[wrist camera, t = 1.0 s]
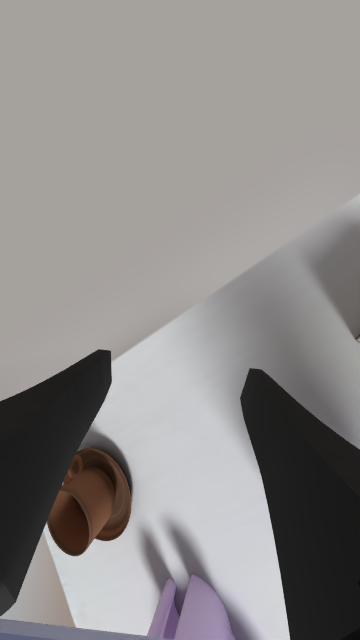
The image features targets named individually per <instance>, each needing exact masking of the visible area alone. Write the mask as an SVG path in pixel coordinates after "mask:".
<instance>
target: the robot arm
mask: <svg viewBox="0 0 360 640" xmlns="http://www.w3.org/2000/svg"><path fill="white" fill-rule="evenodd" d="M111 383H112V376H111V351H108V350H100V349H99V350H97V351H95V352H93V353H92V354H90V355H88V356H87V357H85V358H84V359H82V360H80V361H79V362H77V363H75V364H74V365H72V366H70V367H69V368H67V369H65V370H64V371H62V372H60V373H58V374H56V375H54V376H53V377H51V378H49V379H47V380H45V381H43V382H41V383H39V384H37V385H36V386H33V387H31V388H29V389H27V390H25V391H23V392H21V393H19V394H16V395H15V396H12V397H10V398H7V399H5V400H2V401H0V616H1V615H3V614H4V613H5V612H6V611H7V610H9V609H10V608H11V607H12V605H13V604H14V603H15V602H16V600H17V597H18V595H19V592H20V589H21V587H22V584H23V581H24V578H25V576H26V573H27V571H28V568H29V565H30V563H31V560H32V558H33V555H34V552H35V550H36V547H37V544H38V542H39V539H40V537H41V534H42V532H43V529H44V527H45V524H46V522H47V519H48V517H49V514H50V512H51V509H52V507H53V505H54V502H55V500H56V498H57V495H58V493H59V490H60V488H61V486H62V483H63V481H64V479H65V476H66V474H67V472H68V470H69V467H70V465H71V463H72V461H73V458H74V456H75V454H76V452H77V450H78V448H79V446H80V444H81V442H82V440H83V439H84V437H85V435H86V433H87V431H88V430H89V428H90V426H91V424H92V422H93V421H94V419H95V417H96V415H97V413H98V411H99V410H100V408H101V406H102V404H103V402H104V400H105V398H106V395H107V393H108V391H109V388H110V385H111ZM240 399H241V405H242V411H243V416H244V420H245V424H246V427H247V430H248V433H249V437H250V440H251V443H252V446H253V449H254V453H255V456H256V459H257V462H258V465H259V469H260V473H261V476H262V481H263V485H264V490H265V494H266V499H267V503H268V508H269V513H270V519H271V524H272V529H273V534H274V539H275V545H276V551H277V556H278V562H279V568H280V573H281V580H282V586H283V593H284V599H285V606H286V612H287V619H288V626H289V633H290V640H360V450H359V449H358V448H356V447H355V446H354V445H352V444H351V443H349V442H348V441H346V440H345V439H344V438H342V437H341V436H340V435H338V434H337V433H336V432H334V431H333V430H331V429H330V428H329V427H327V426H326V425H325V424H324V423H322V422H321V421H320V420H318V419H317V418H316V417H315V416H314V415H312V414H311V413H310V412H309V411H308V410H306V409H305V408H304V407H303V406H302V405H301V404H299V403H298V402H297V401H296V400H295V399H294V398H293V397H291V396H290V395H289V394H288V393H287V392H286V391H285V390H284V389H283V388H282V387H281V386H279V385H278V384H277V383H276V382H275V381H274V380H273V379H272V378H271V377H270V376H269V375H267V374H266V373H265V372H264V371H263V370H260V369H252V368H250V369H249V372H248V376H247V379H246V382H245V385H244V388H243V391H242V394H241V398H240ZM0 640H174V639H166V638H157V637H149V636H141V635H132V634H124V633H115V632H107V631H99V630H90V629H82V628H74V627H65V626H56V625H48V624H40V623H32V622H24V621H15V620H6V619H0Z"/></svg>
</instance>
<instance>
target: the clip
mask: <svg viewBox="0 0 360 640" xmlns="http://www.w3.org/2000/svg"><path fill="white" fill-rule="evenodd" d="M176 588H177V587H176V584H175V583H174V581H173V580H172V579H167V581H166V584H165V586H164V589H163V592H162V595H161V598H160V601H159V603H158V606H157V609H156V612H155V615H154V617H153V620H152V623H151V626H150V629H149V632H148V634H147V636H149V637H157V638H166V639H174V640H236V639H235V637H234V635H233V633H232V630H231V627H230V622H229V617H228V614H227V611H226V609H225V607H224V605H223V603H222V601H221V599H220V598H219V596H218V595H217V594H216V592H215V591H214V590H213V589H212V588H211V587H210V586H209V585H208V584H207V583H206V582H205V581H204V580H202V579H201V578H199V577H198V576H196V575H191V577H190V581H189V585H188V589H187V592H186V596H185V600H184V604H183V607H182V611H181V615H180V617H179V615H178V613H177V611H176V608H175V604H174V595H175V592H176Z"/></svg>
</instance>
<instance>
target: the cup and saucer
mask: <svg viewBox="0 0 360 640" xmlns="http://www.w3.org/2000/svg"><path fill="white" fill-rule="evenodd" d="M130 514H131V495H130V490H129V486H128V482H127V480H126V477H125V475H124V473H123V471H122V470H121V468H120V467H119V465H118V464H117V463H116V461H115V460H114V459H113V458H111V457H110V456H109V455H108V454H106V453H104V452H102V451H100V450H97V449H93V448H87V449H83V450H80V451H78V452H76V454H75V456H74V458H73V461H72V463H71V465H70V467H69V470H68V472H67V474H66V476H65V479H64V481H63V485H62V486H61V488H60V490H59V493H58V495H57V498H56V500H55V502H54V505H53V507H52V509H51V512H50V514H49V517H48V519H47V525H48V528H49V531H50V534H51V536H52V538H53V540H54V541H55V543H56V544H57V546H58V547H59V548H60V549H61V550H62V551H63V552H65V553H66V554H68V555H71V556H79V555H81V554H83V553H84V552H85V551H86V549H87V548H88V547H89V545H90V544H91V543H92V541H93V540H94V539H98V540H102V541H110V540H114V539H116V538H118V537H119V536H120V535H121V534H122V533H123V532H124V530H125V528H126V526H127V524H128V521H129V518H130Z"/></svg>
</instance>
